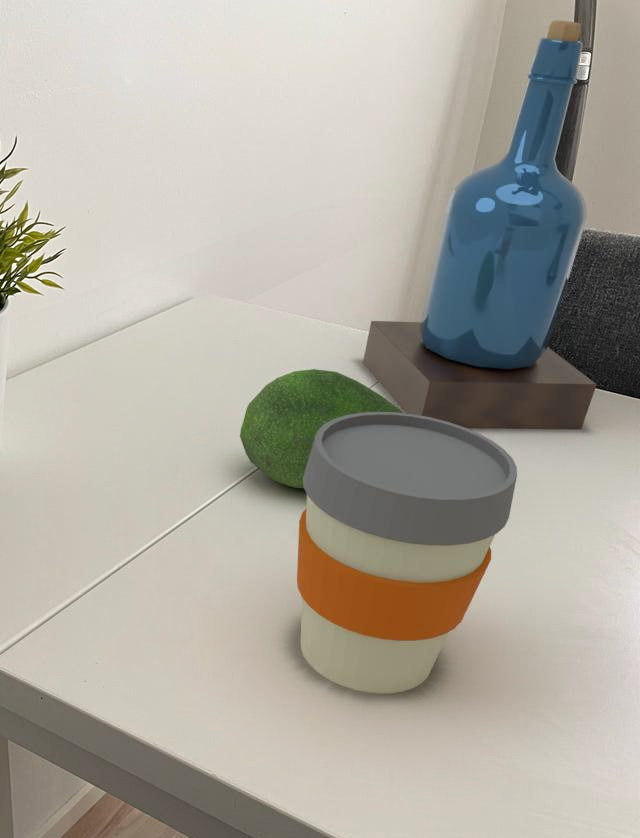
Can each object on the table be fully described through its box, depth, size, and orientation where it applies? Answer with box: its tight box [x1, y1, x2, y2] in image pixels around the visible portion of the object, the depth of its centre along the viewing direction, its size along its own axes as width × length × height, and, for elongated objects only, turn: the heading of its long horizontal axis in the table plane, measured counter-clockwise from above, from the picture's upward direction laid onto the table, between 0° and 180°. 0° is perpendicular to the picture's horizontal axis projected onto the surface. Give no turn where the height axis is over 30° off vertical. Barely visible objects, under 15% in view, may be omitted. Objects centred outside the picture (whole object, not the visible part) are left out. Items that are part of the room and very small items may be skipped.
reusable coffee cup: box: [296, 412, 518, 695], centre depth 64 cm, size 13×13×15 cm
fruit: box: [239, 368, 404, 489], centre depth 86 cm, size 15×10×10 cm, turn 81°
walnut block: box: [362, 320, 598, 430], centre depth 108 cm, size 18×18×5 cm
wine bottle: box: [419, 20, 588, 369], centre depth 98 cm, size 14×13×30 cm
